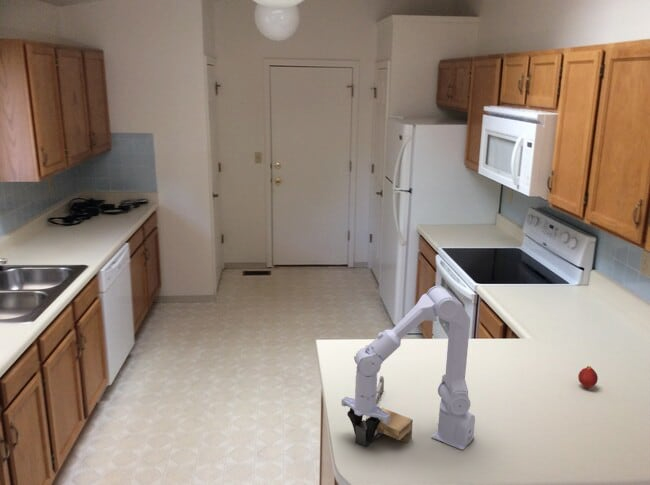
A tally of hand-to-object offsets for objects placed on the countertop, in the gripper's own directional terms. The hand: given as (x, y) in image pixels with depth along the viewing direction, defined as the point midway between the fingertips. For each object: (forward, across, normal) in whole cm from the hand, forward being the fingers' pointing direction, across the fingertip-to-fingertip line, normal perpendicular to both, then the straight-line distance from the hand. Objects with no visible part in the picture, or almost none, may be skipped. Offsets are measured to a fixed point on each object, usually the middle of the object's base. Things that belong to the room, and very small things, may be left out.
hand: (364, 436), depth 159 cm
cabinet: (+2, +5, +6) cm, 8 cm away
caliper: (+2, -8, +17) cm, 19 cm away
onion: (+2, +41, +72) cm, 82 cm away
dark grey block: (+2, 0, +2) cm, 3 cm away
